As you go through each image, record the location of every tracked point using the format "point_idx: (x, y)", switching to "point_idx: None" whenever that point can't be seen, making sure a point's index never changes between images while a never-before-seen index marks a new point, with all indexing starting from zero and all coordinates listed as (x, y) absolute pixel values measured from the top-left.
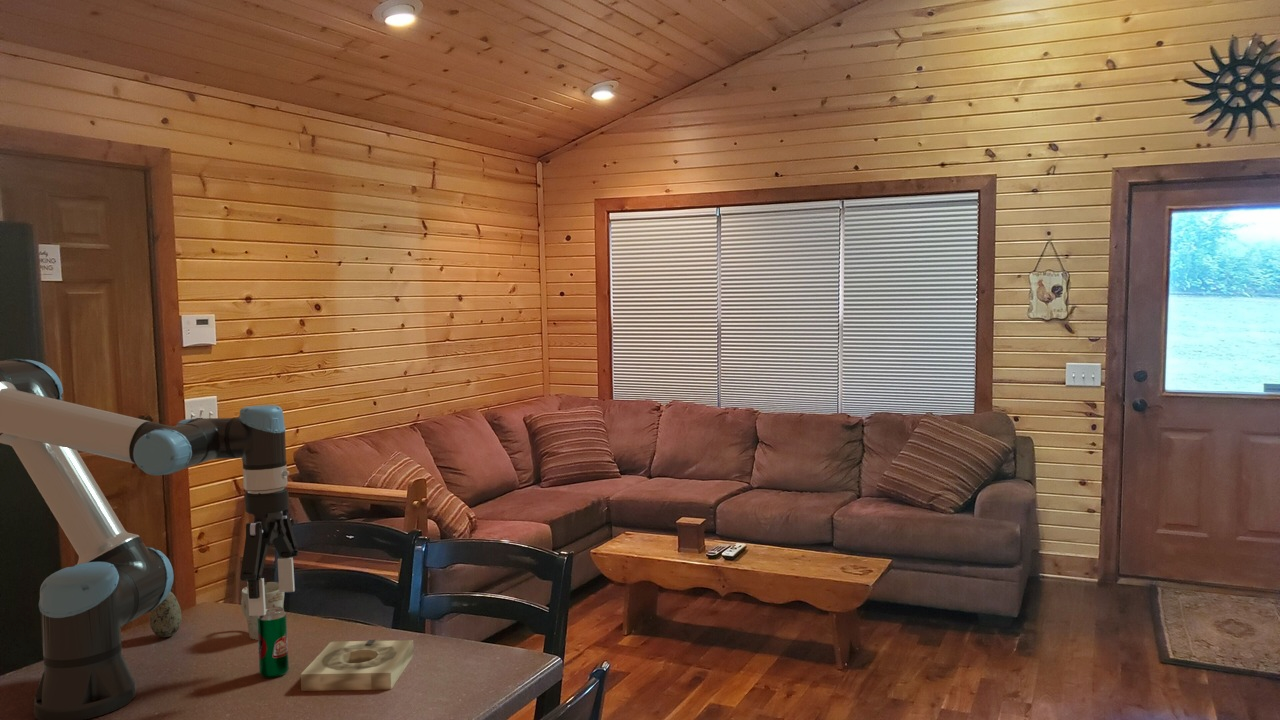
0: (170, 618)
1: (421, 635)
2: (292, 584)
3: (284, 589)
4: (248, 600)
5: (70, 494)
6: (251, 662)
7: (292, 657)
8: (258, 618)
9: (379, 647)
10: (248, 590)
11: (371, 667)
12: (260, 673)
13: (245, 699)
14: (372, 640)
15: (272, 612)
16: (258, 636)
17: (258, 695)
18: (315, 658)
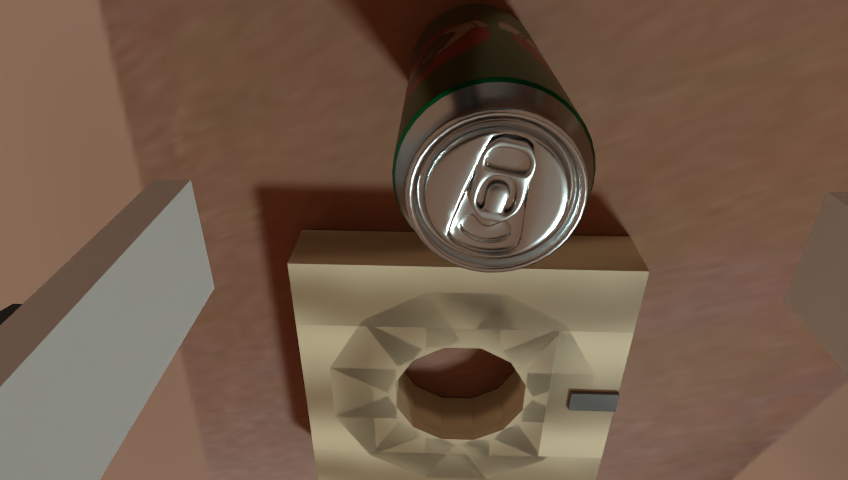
0: None
1: (762, 446)
2: (819, 340)
3: (823, 248)
4: (81, 252)
5: None
6: None
7: (667, 76)
8: (430, 109)
9: (540, 431)
10: (11, 327)
11: (359, 443)
12: (432, 22)
13: (204, 47)
14: (610, 405)
15: (452, 218)
16: (432, 65)
17: (248, 87)
18: (453, 267)
